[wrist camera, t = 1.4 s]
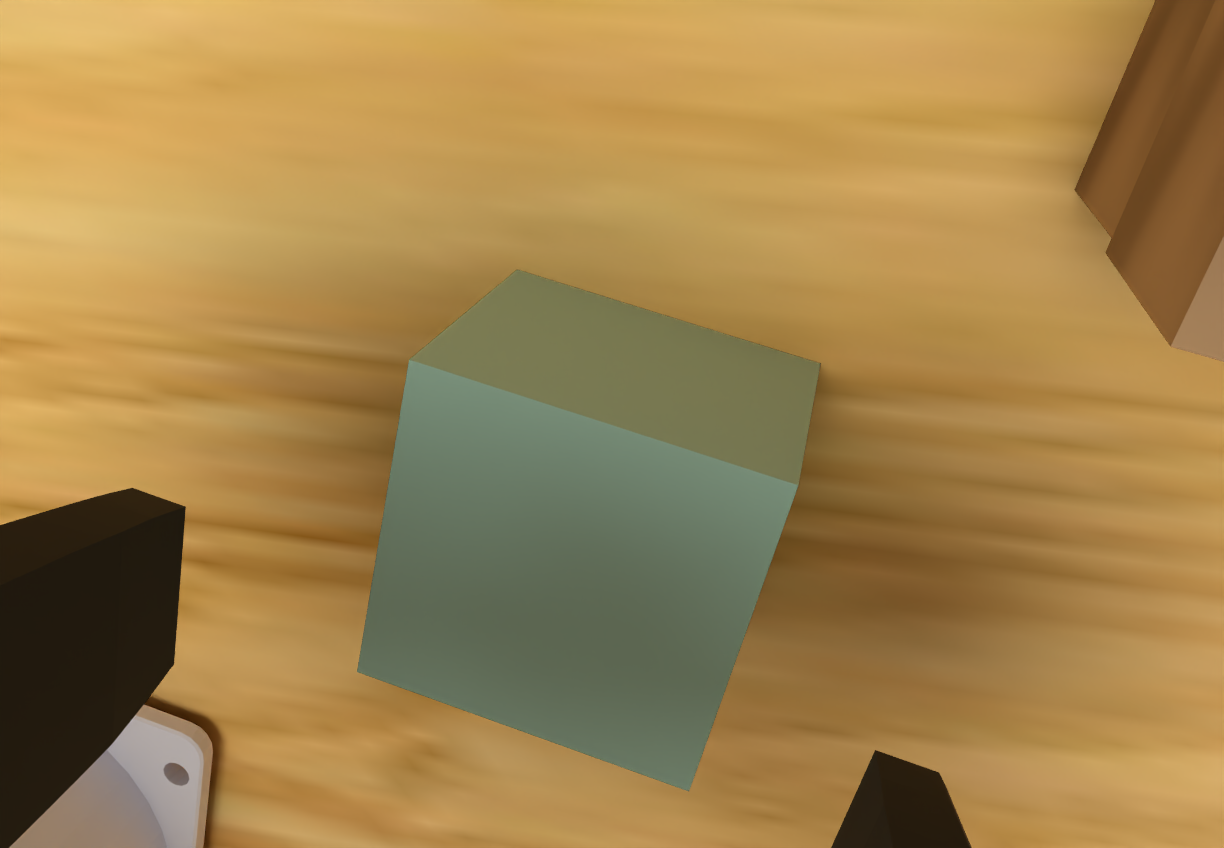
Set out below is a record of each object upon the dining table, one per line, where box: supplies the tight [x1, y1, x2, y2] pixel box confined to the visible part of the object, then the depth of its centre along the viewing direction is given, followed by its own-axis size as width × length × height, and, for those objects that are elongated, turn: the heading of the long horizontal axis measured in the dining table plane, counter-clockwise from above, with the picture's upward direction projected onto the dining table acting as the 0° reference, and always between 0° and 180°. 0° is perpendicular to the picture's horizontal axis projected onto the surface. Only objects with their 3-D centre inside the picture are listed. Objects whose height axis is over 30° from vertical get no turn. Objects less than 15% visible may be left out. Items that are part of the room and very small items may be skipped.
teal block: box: [357, 270, 821, 791], centre depth 15 cm, size 4×4×4 cm
